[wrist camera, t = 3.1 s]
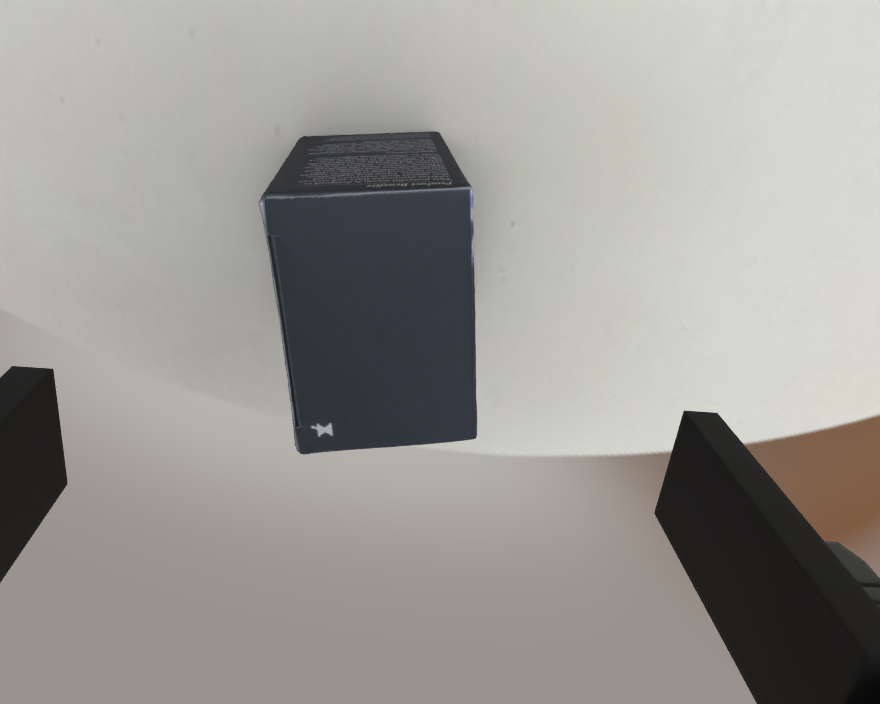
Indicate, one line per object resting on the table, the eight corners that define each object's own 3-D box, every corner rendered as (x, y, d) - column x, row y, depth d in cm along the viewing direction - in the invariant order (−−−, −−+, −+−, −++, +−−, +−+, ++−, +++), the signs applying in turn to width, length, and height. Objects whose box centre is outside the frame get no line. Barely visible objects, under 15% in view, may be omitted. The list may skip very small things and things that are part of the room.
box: (448, 314, 31) (479, 446, 22) (317, 321, 31) (290, 459, 21) (442, 126, 28) (477, 185, 18) (295, 133, 28) (252, 196, 18)
